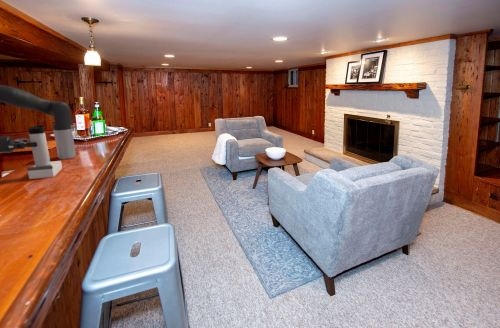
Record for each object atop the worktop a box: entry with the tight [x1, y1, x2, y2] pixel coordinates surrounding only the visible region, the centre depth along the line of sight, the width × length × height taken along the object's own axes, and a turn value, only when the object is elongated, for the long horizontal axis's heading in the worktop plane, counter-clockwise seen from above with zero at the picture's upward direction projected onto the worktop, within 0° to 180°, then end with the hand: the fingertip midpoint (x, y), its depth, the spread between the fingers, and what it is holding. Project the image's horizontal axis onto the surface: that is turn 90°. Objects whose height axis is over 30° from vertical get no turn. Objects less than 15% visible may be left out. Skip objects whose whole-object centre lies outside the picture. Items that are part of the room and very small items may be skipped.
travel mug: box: [27, 124, 51, 167], centre depth 144 cm, size 6×7×20 cm
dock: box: [26, 160, 63, 180], centre depth 149 cm, size 16×10×6 cm, turn 19°
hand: (39, 142), depth 143 cm, fingers open, 8 cm apart
